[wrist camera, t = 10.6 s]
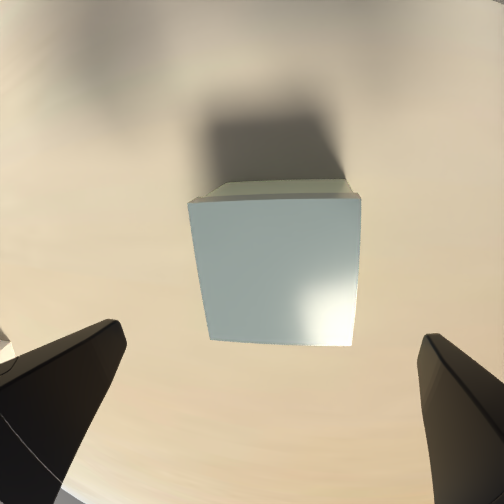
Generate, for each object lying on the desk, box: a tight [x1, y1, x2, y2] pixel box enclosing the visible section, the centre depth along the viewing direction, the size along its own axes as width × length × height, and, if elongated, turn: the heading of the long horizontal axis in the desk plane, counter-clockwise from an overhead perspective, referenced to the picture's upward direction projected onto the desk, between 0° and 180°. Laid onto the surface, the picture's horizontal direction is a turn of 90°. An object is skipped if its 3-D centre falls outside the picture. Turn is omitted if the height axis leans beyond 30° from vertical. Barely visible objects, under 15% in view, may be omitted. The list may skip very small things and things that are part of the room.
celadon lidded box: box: [187, 179, 361, 346], centre depth 14 cm, size 6×6×5 cm
